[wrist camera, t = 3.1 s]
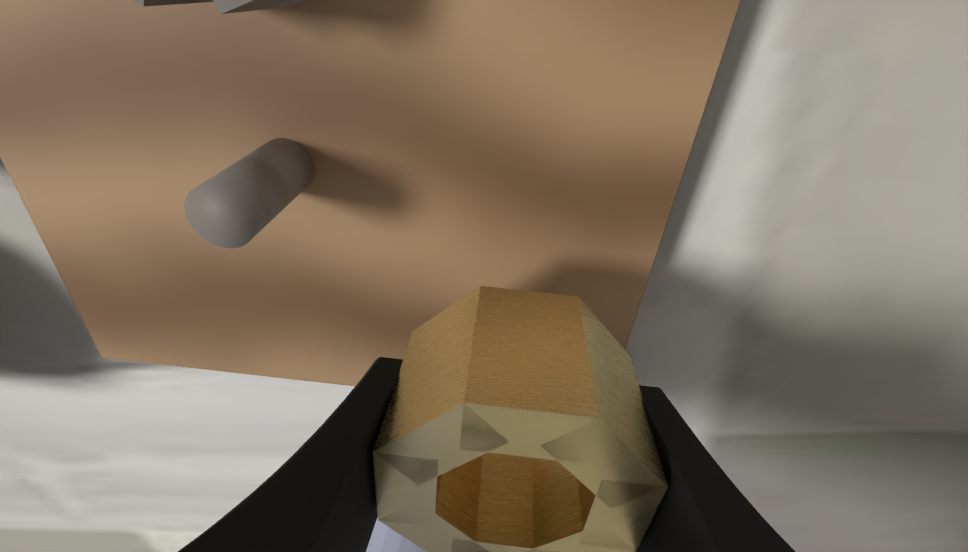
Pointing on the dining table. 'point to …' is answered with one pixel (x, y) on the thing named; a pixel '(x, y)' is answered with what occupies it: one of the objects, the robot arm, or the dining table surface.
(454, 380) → the wooden octagonal nut
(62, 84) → the board
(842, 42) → the dining table surface
